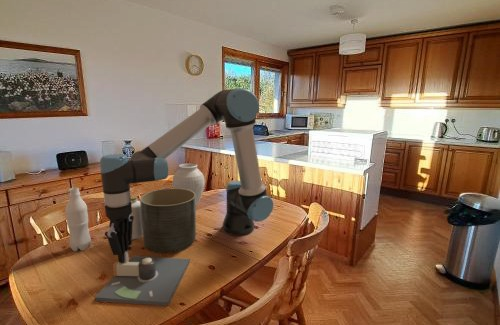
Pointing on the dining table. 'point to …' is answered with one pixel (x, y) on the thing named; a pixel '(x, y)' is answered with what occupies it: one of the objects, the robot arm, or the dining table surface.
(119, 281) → the dial board
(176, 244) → the planter
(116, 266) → the peg lever
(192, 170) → the vase
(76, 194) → the water bottle
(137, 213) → the potion bottle
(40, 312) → the dining table surface
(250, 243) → the dining table surface
